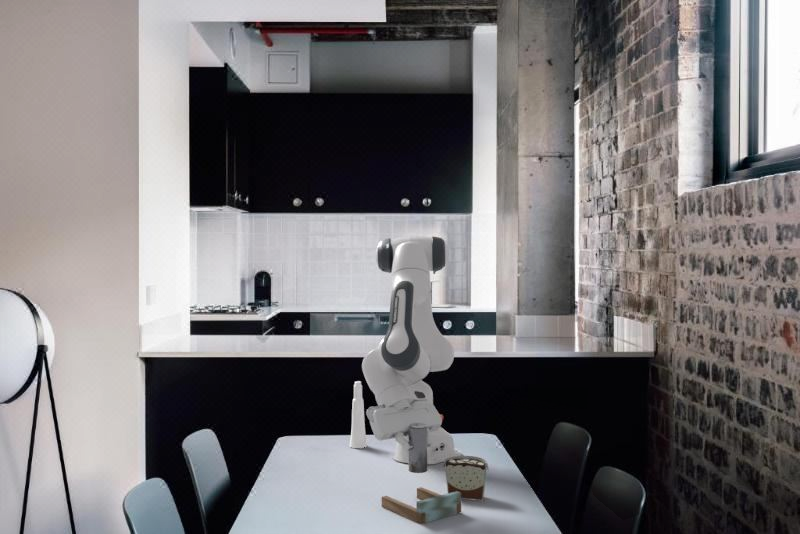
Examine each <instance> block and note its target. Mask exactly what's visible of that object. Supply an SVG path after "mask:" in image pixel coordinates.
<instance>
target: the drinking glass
mask: <svg viewBox="0 0 800 534" xmlns="http://www.w3.org/2000/svg"><path fill="white" fill-rule="evenodd" d="M409 441H411V443H412V445H413V448H412V450H410V451H409V463H408V472H410V473H413V474H423V473H426V472H428V468H429V467H428V465H429V464H428V427H427V426H426V424H423V423H413V424H410V426H409Z"/></svg>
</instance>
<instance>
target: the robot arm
mask: <svg viewBox="0 0 800 534" xmlns="http://www.w3.org/2000/svg"><path fill="white" fill-rule="evenodd" d="M374 255H375V256H374V258H375V262H376V264H377V267H378V269H379V270H380V271H382V272H385V273H387V274H391V296H390V304H389V305H390V306H389V315H388V316H389V317H388V327H387V330H386V333H385V336H384V337H383V338H382V339H381V341H379V344H378V346H377V348H374V349H372V350H371V351H369V352H367V354H366V355H365V356H364V357H363V359H362V363H361V370H362V373H363V376H364V378H365V381H366V383H367V385H368V387H369V389H370V391H371V392H372V393H373V395H374V397H375V401H376V404H377V405H376V406H369V407H368V409H366V411H365V414H366V415H365V416H367V419H368V420H369V425H370V427H371V430H372V432H373V436H374V438H375V439H377V440H378V441H379V442H380V441H385V440H390V439H391V440H392V439H395V441H396V444H395V445H396V446H395V450H394V454H393V457H392V459H393V460H395V461H396V462H399V463H405V464H409V451H410V450H412V448H413V445H412V443H411V441H409V426H410V424H413V423H423V424H426V426H427V427H428V465H436V464H440V463H444V461H445V459H446V458H449V457H454V456H463V454H462V451H461V450H459V449H457V448H455V442H454V438H453V435H451V433H449V432H447V431H446V430H445V429H444V428H443V427H442V426H441V425H442V423H443V420H444V415H443V414H440V413H439V411H438V410H437V409H436V408H437V407H435V405H434V397H433V396H434V395H433V394H434V393H433V390H432V388H431V386H430V385H429V384H428V383H427V382H425V381H423V379H425V378H427V376H428V374H429V373H430V372H432V373H434V372H442V371H446V370H448V369H449V368H450V367H451V365H452V364H453V362H454V358H455V350H454V347H453V345H452V342H450V341H449V340H448V339H447V338H446V337H445V336H444V335H443V333H441V332H440V330H439V328H438V327H437V325H436V322H435V320H434V317H433V316H434V315H433V308H432V307H433V306H432V305H433V304H432V292H431V291H432V290H431V289H432V286H431V272H432V274H433V275H435V274H436V272H439V271H441V270H443V268H445V266H446V264H447V261H448V257H449V250H448V246H447V245H446V241H445V240H444V239H443V238H442V237H439V236H419V235H418V236H417V235H416V236H412V235H411V236H404V237H396V238H385V239H382V240H380V241H379V242H378V244H377V246H376V249H375V254H374Z"/></svg>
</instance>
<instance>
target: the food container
mask: <svg viewBox="0 0 800 534" xmlns="http://www.w3.org/2000/svg"><path fill="white" fill-rule="evenodd" d="M442 463H443V465H442V468H445V480H446V487H447V489H446V490H447V494H448V493H452V492H456V491H458V492H461V498H463V499H462V500H470V499H475V500H474V501H480V500H483V501H484V497H485V487H486V486H485V485H486V475H487V471H489V465H488V462H487V460H486V459H485V458H482V457H479V456H474V455H461V456H454V457H449V458H446V459H445V461H443V462H442Z"/></svg>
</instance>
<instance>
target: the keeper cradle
mask: <svg viewBox="0 0 800 534" xmlns="http://www.w3.org/2000/svg"><path fill="white" fill-rule="evenodd" d="M416 498H417V499H419V500H418V501H416V507H415V506H412V505H409V504H407V503H405V502H402V501H400V500H398V499H395V498H393V497H390V496H388V495H383V496H381V507H382V508H384V509H386V510H388V511H391V512H394V513H396V514H397V515H400V516H402V517H404V518H406V519H408V520H411V521H413V522H415V523H418V524H420V525H422V524H426V523H430V522H432V521H435V520H441V519H444V518H447V517H451V516H454V515H458V514H461V513H462V499H461V492H458V491H456V492H452V493H448V492H447V493H445V494H439V493H437V492H435V491H432V490H430V489H427V488H425V487H422V486H421V487H417V488H416ZM460 512H461V513H460ZM457 513H458V514H457Z"/></svg>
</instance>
